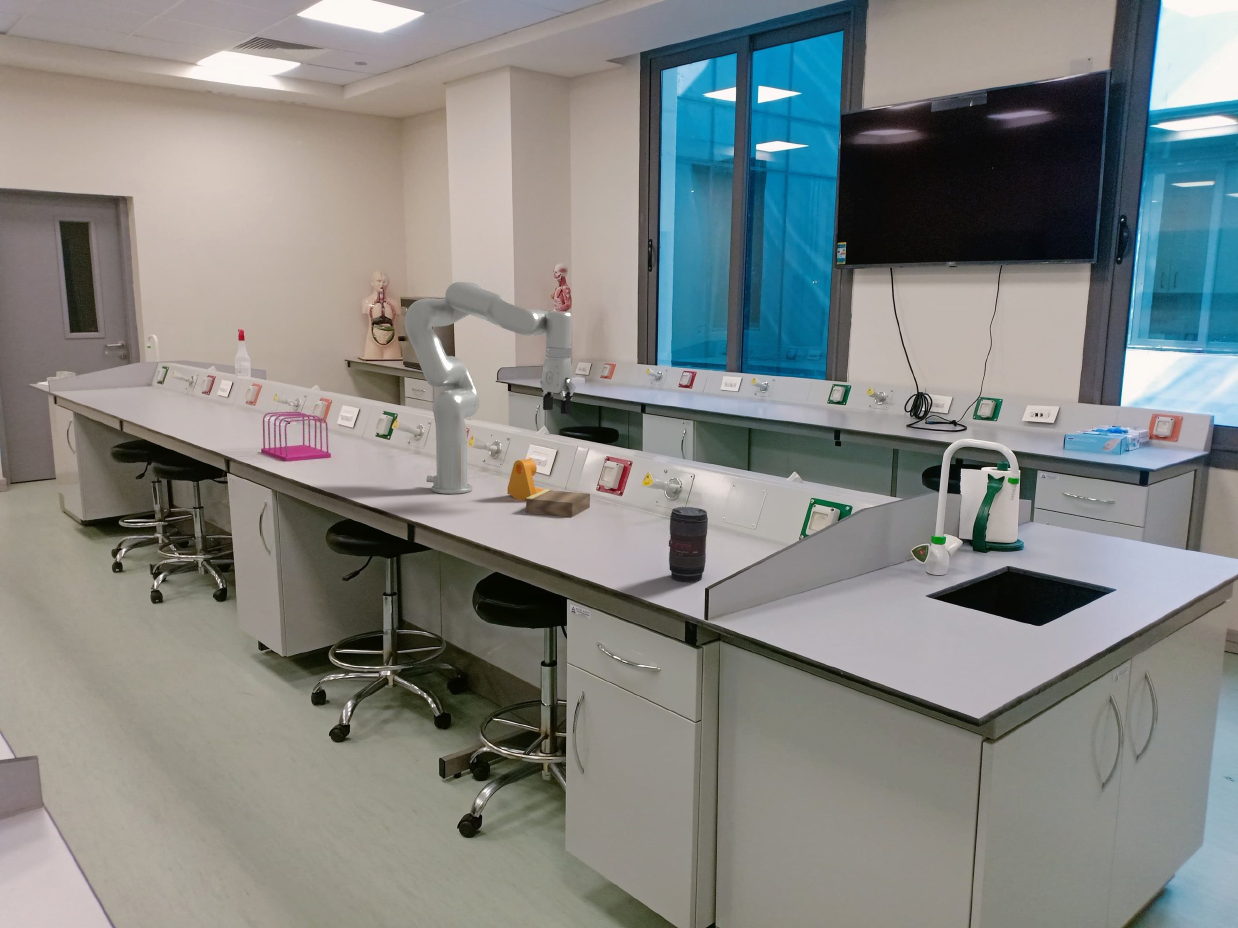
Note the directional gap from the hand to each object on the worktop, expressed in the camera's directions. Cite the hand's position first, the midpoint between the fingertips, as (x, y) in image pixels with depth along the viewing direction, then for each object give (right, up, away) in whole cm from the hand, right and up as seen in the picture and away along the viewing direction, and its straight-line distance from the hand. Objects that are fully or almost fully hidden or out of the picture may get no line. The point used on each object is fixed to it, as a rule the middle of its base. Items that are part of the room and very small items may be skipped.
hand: (556, 411), depth 268 cm
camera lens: (+33, -41, -72) cm, 89 cm away
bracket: (-9, -26, +7) cm, 29 cm away
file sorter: (-104, -13, +75) cm, 129 cm away
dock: (+1, -29, -9) cm, 30 cm away
